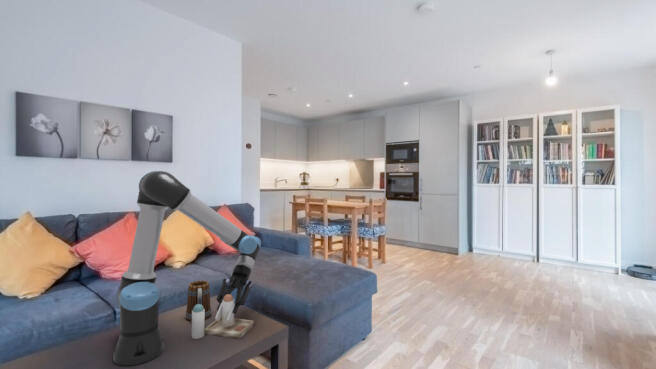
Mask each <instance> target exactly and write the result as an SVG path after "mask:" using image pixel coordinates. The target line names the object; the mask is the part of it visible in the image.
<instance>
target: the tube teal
mask: <svg viewBox="0 0 656 369" xmlns="http://www.w3.org/2000/svg"><path fill="white" fill-rule="evenodd" d="M205 320H206V319H205V309H204V308H203V306H202V305H201V304H197V305H195V306H194V308H193V310H192V321H191V338H192V339H195V340H199V339H202V338H204V337H205V334H204V329H205V328H206V326H205Z"/></svg>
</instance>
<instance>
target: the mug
mask: <svg viewBox="0 0 656 369" xmlns="http://www.w3.org/2000/svg"><path fill="white" fill-rule="evenodd" d="M210 293H211V289H210V281H207V280H204V279H203V280H195V281H192V282H190V283H189V284H188V289H187V302H186V311H185V319H186V320H187V321H189V322H192V310H193V308H194V306H195V305H197V304H201V305H202V306H203V308H204V309H205V320H207V319H208V318H210V317H211V314H212V308H211V295H210Z"/></svg>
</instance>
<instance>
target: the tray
mask: <svg viewBox="0 0 656 369" xmlns="http://www.w3.org/2000/svg"><path fill="white" fill-rule="evenodd" d="M255 325H256V324H255V320H251V319H244V318H238V317H237V318H236V317H234V325H232V326H230V327H223V326H222V316H221V318H220V321H217V320H216V319H215V320H214V321H213V322H211V323H210V324H209V325H207V326H205V328H204V335H209V336H218V337H224V338H232V339H239V340H241V339H242V338H243V337H244V336H245V335H246V334H247V333H248V332H249V331H250V330H251V329H252V328H254V326H255Z"/></svg>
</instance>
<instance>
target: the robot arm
mask: <svg viewBox="0 0 656 369" xmlns="http://www.w3.org/2000/svg"><path fill="white" fill-rule="evenodd" d="M136 204H137V206H138V207H139V213H138V219H137V223H136V228H135V234H134V239H133V242H132V248H131V249H132V250H131V253H130V254H131V255H130V258H129V264H128V267H127V268H128V269H127V270H126V271H125V272H123V273H122V275H121V280H120V285H119V286H118V288H117V292H116V299H117V302H118V308H119V336H118V339H117V342H116V346H115V348H114V350H113V362H114V364H116V365H119V366H123V367H124V366H126V367H127V366H136V365H140V364H144V363H147V362H149V361H152V360H154V359H155V358H158V356H160V355H161V354H162V353H163V351H164V348H165V342H164V339H163V337H162V334H161V331H160V328H159V327H160V326H159V318H160V317H159V316H160V314H159V312H160V310H159V309H160V308H159V304H160V302H159V301H160V300H159V298H160V291H159V290H160V289H159V286H158V285H157V284H156V282H157V281H156V280H157V276H158V275H157V273H155V271H154V269H155V264H156V259H157V253H158V247H159V244H160V238H161V233H162V228H163V223H164V218H165V212H166V211H167V210H168V209H170V210H171V211H178V212H179V213H181V214H183V215H185V216H186V217H187V218H189V219H190V220H192V221H194V223H196V224H198V225H200V227H202V228H204V229H205V230H207V231H209V232H210V233H212V234H213V235H215V236H216V237H218V238H219V239H220V241H221V242H223V243H224V244H226V245H227V246H229V247H230V248H231V249H234V250H235V251H237V252H238V253H239V257H238V258H237V261H236V263H235V266H234V267H233V269H232V270H233V271H232V274H231V276H230V277H229V278H223V280H222V284H221V287H220V288H219V293H218V294H217V296H216V301H217V302H218V306H217V307H216V314H215V317H214V319H215V320H217V321H220V318H221V317H222V300H223V299H224V296H225V295H227V294H231V295H232V293H233V291H235V289H237V290H236V296H235V300H234V304H233V305H232V308H231V310H230V313H229V316H228V318H227V321H228V322H229V323H231V322H232V319H233V316H234V317H235V315H236V314H238V311H239V308H240V306H245V305H246V301H247V298H248V297H249V296H248V295H249V293H250V290H251V288H252V287H253V286H254V284H253V282H252V281H251V280H249V279H250V275H251V274H252V270H253V268H254V265H255V264H256V263H255V262H256V260H257V257H258V255H259V252H260V249H261V247H262V240H261V239H260V238H259V237H258V236H255V235H249V234H248V233H246V232H245V231H244V230H242V229H241V228H240V227H238V226H237V225H235V224H234V223H233V222H231V221H230V220H229V219H227V218H226V217H224V216H223V215H221V214H220V213H218V212H217V211H215V209H213V208H211V207H210V206H209V205H207V204H206V203H204V202H203V201H202V200H200V199H199V198H198V197H196V196H194V195H193V194H192V192H191V189H190V188H188V187H187V186H186V185H185V184H184V183H182V182H181V181H179V179H178V178H176V177H175V176H174V175H173V174H172V173H169V172H168V171H162V170H159V171H158V170H154V171H150V172H147V173H145V174H143V176H142V177H141V179H140V180H139V183H138V196H137V201H136Z"/></svg>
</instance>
